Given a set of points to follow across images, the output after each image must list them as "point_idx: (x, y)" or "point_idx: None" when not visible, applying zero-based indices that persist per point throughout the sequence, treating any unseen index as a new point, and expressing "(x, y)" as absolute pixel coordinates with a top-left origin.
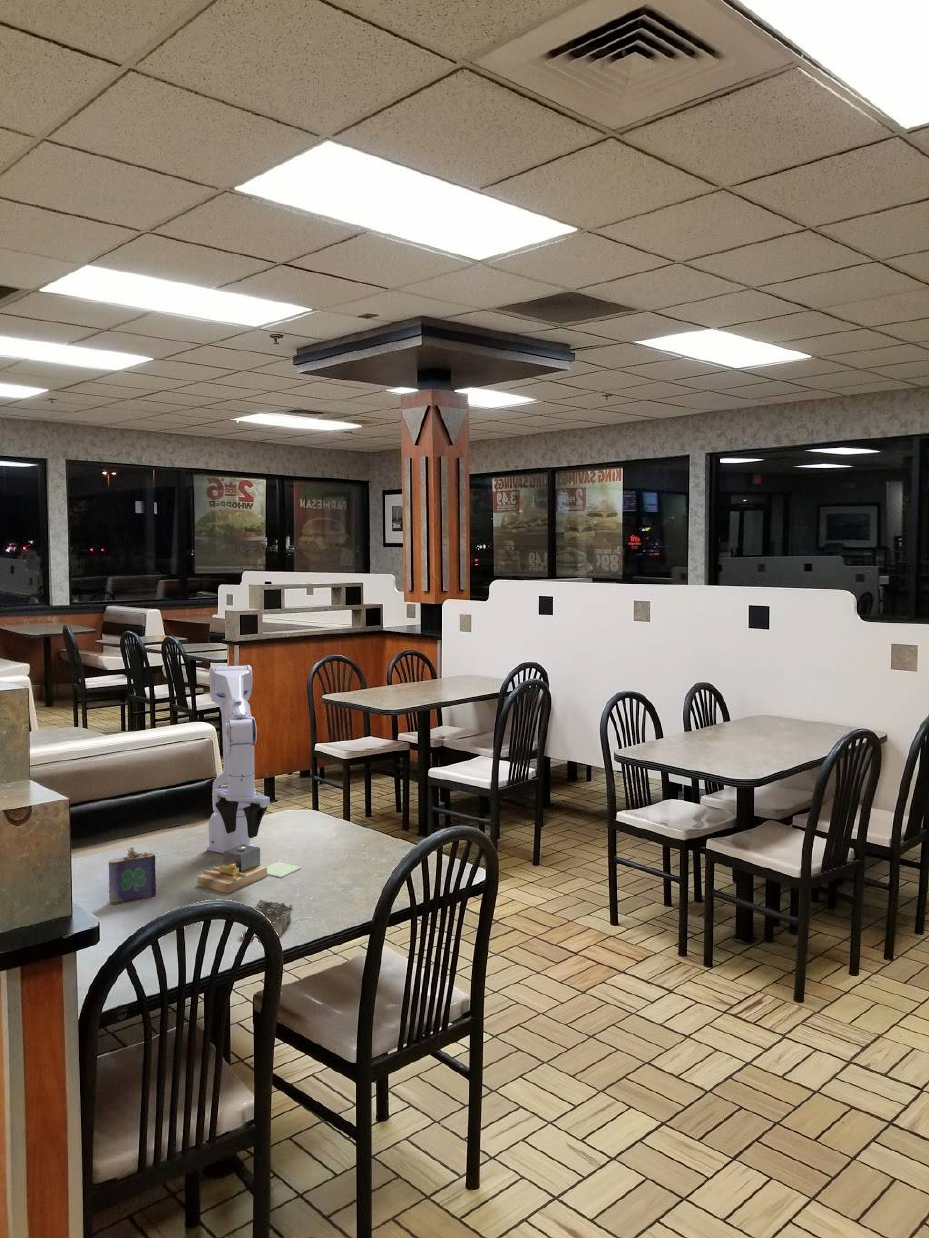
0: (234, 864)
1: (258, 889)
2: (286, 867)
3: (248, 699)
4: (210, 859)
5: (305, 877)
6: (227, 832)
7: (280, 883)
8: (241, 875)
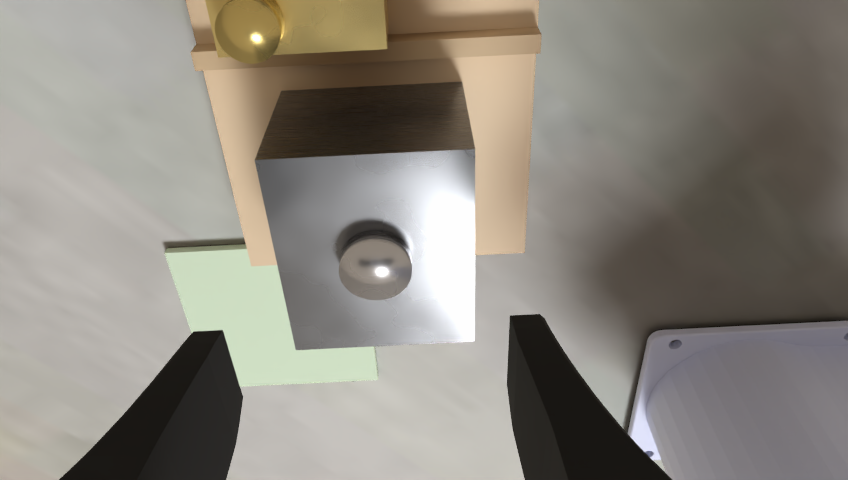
0: (228, 38)
1: (85, 37)
2: (269, 352)
3: None
4: (772, 238)
5: (77, 317)
6: (526, 319)
7: (87, 190)
8: None
